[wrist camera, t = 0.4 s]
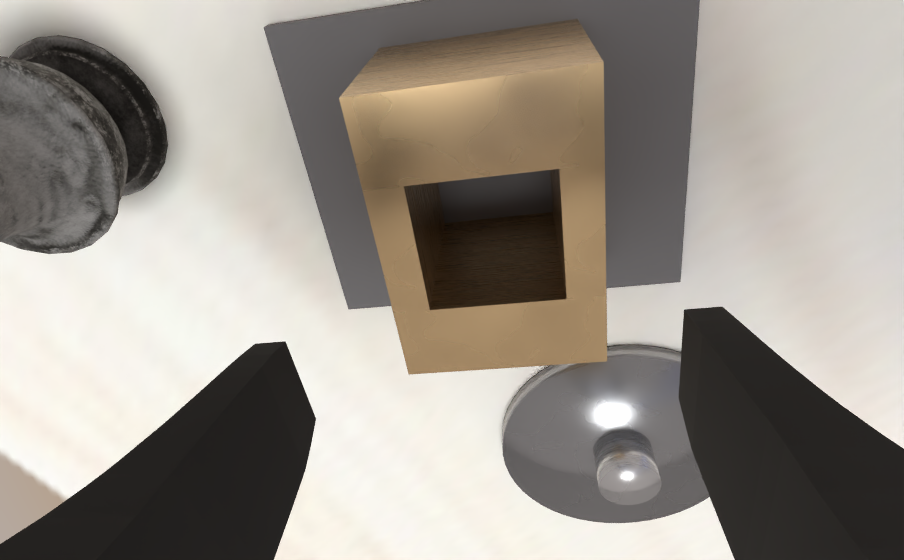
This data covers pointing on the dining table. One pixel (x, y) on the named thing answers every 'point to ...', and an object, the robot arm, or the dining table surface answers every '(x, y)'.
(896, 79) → the dining table surface
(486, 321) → the wooden cubby box
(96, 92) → the stepped metal shaft
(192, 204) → the dining table surface
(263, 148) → the dining table surface
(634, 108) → the mat
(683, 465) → the hub
